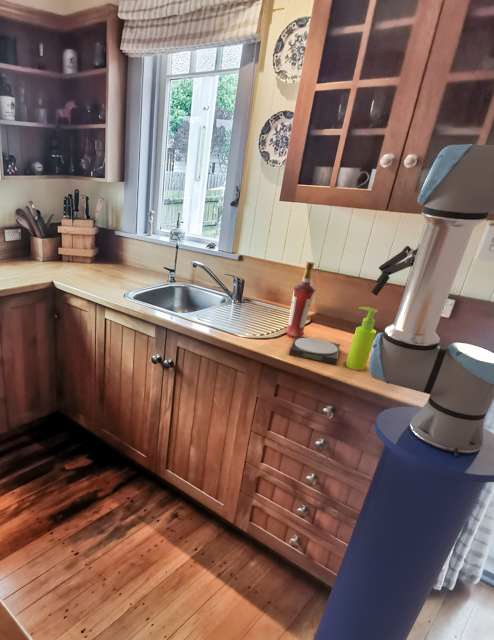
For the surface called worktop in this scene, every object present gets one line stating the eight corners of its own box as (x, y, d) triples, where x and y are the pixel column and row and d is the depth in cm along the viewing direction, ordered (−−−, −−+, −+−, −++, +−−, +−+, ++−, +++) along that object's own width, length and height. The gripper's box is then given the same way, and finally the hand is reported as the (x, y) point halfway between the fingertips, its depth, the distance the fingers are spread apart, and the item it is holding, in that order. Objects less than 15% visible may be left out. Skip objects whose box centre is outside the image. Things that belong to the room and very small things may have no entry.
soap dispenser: (347, 360, 159) (364, 304, 150) (367, 367, 154) (386, 309, 145) (339, 364, 155) (355, 307, 147) (359, 371, 151) (377, 313, 142)
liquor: (285, 330, 182) (301, 259, 170) (305, 334, 179) (322, 262, 167) (282, 336, 177) (298, 262, 164) (302, 340, 174) (320, 266, 161)
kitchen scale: (335, 365, 155) (337, 357, 154) (288, 355, 161) (290, 347, 159) (338, 349, 167) (340, 342, 166) (295, 340, 173) (297, 334, 172)
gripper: (487, 257, 129) (435, 323, 135) (406, 232, 148) (363, 291, 153) (479, 246, 125) (426, 315, 130) (397, 222, 143) (354, 283, 149)
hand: (392, 302), depth 142 cm, fingers open, 13 cm apart
